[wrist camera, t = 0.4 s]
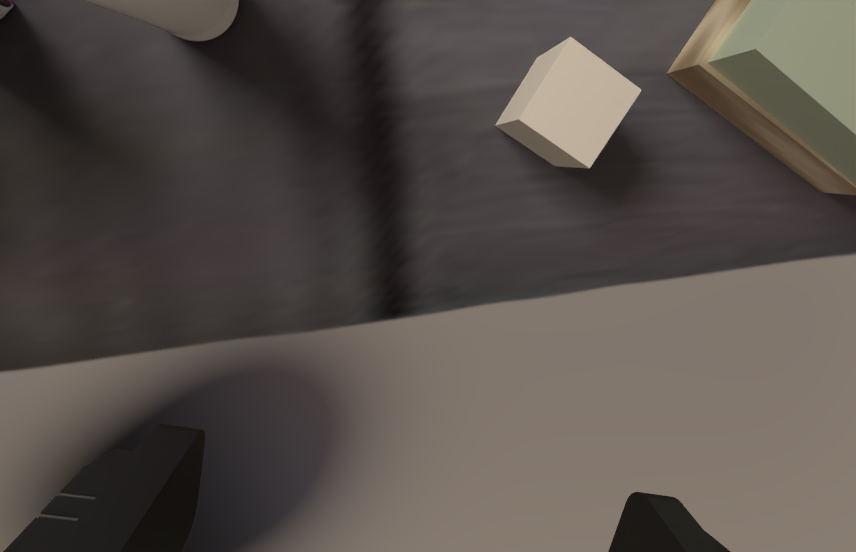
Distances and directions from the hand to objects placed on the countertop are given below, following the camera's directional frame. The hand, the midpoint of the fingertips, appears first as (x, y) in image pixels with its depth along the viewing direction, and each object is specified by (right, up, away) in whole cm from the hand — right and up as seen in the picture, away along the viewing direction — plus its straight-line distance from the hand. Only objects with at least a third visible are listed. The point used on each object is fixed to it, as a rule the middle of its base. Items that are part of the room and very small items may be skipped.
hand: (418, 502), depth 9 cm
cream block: (+8, +15, +24) cm, 30 cm away
